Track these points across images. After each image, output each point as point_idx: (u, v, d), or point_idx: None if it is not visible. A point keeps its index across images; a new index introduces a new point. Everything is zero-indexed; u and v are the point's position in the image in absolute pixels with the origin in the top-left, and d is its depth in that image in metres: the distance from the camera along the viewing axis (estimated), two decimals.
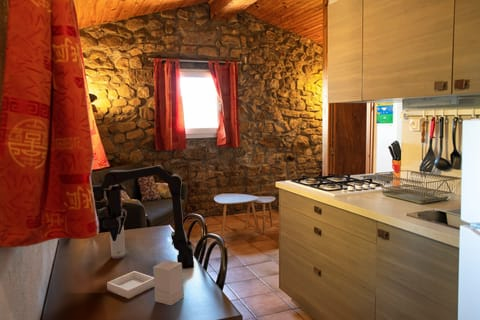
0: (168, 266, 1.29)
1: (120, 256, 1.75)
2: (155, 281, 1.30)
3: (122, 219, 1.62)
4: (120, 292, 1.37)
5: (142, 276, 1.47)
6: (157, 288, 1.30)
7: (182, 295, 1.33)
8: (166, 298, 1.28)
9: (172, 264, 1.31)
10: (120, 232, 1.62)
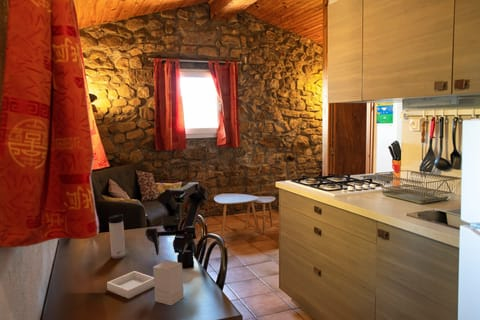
0: (168, 266, 1.29)
1: (120, 256, 1.75)
2: (155, 281, 1.30)
3: (158, 241, 1.44)
4: (120, 292, 1.37)
5: (142, 276, 1.47)
6: (157, 288, 1.30)
7: (182, 295, 1.33)
8: (166, 298, 1.28)
9: (172, 264, 1.31)
10: (158, 253, 1.40)
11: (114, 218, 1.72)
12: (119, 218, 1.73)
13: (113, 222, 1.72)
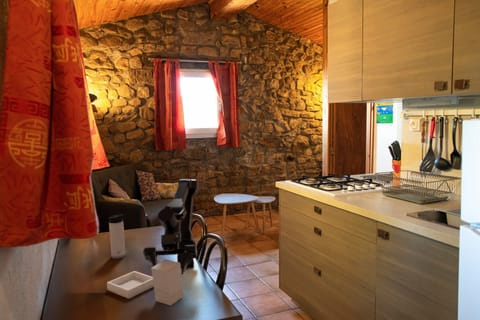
0: (166, 267, 1.28)
1: (120, 256, 1.75)
2: (154, 282, 1.30)
3: (156, 261, 1.37)
4: (120, 292, 1.37)
5: (142, 276, 1.47)
6: (157, 288, 1.30)
7: (182, 294, 1.33)
8: (166, 298, 1.28)
9: (170, 264, 1.30)
10: None
11: (114, 218, 1.72)
12: (119, 218, 1.73)
13: (113, 222, 1.72)
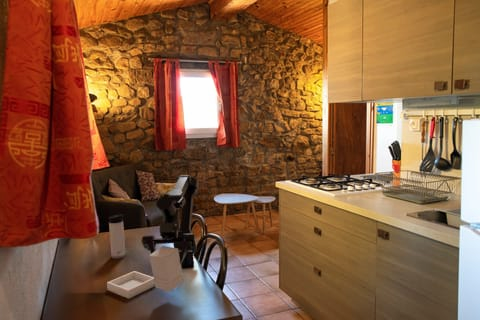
0: (164, 254, 1.27)
1: (120, 256, 1.75)
2: (153, 269, 1.29)
3: (155, 249, 1.36)
4: (120, 292, 1.37)
5: (142, 276, 1.47)
6: (156, 275, 1.29)
7: (182, 279, 1.32)
8: (165, 284, 1.28)
9: (168, 250, 1.29)
10: None
11: (114, 218, 1.72)
12: (119, 218, 1.73)
13: (113, 222, 1.72)
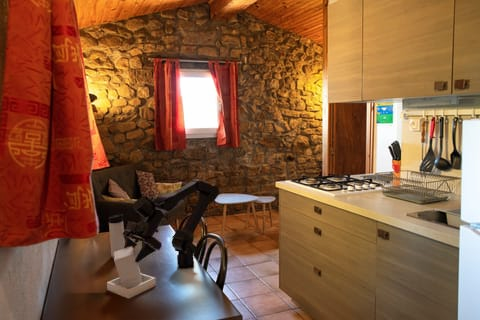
0: (119, 255, 1.38)
1: None
2: None
3: (134, 244, 1.49)
4: (120, 292, 1.37)
5: (142, 276, 1.47)
6: None
7: (139, 281, 1.41)
8: None
9: (126, 253, 1.39)
10: None
11: (114, 218, 1.72)
12: (119, 218, 1.73)
13: (113, 222, 1.72)
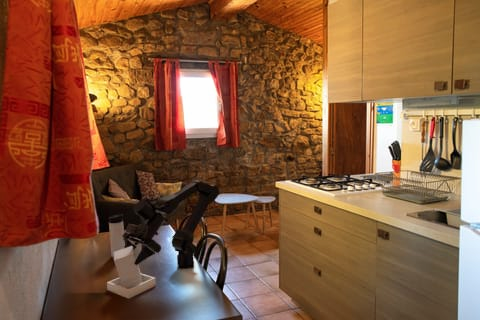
0: (119, 255, 1.38)
1: None
2: None
3: (134, 246, 1.49)
4: (120, 292, 1.37)
5: (142, 276, 1.47)
6: None
7: (139, 281, 1.41)
8: None
9: (125, 253, 1.39)
10: None
11: (114, 218, 1.72)
12: (119, 218, 1.73)
13: (113, 222, 1.72)
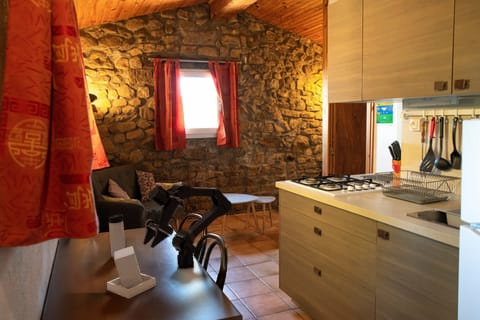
0: (120, 255, 1.39)
1: None
2: None
3: (155, 232, 1.57)
4: (120, 292, 1.37)
5: (142, 276, 1.47)
6: None
7: (139, 281, 1.41)
8: None
9: (126, 253, 1.39)
10: (146, 243, 1.54)
11: (114, 218, 1.72)
12: (119, 218, 1.73)
13: (113, 222, 1.72)
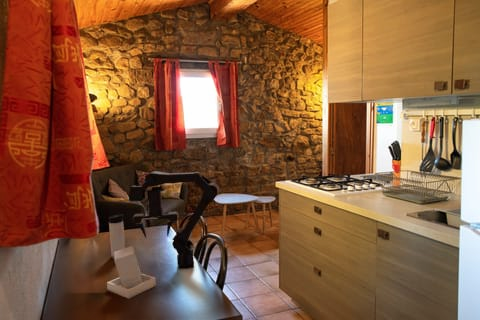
0: (120, 255, 1.39)
1: None
2: None
3: None
4: (120, 292, 1.37)
5: (142, 276, 1.47)
6: None
7: (139, 281, 1.41)
8: None
9: (126, 253, 1.39)
10: (167, 235, 1.62)
11: (114, 218, 1.72)
12: (119, 218, 1.73)
13: (113, 222, 1.72)
